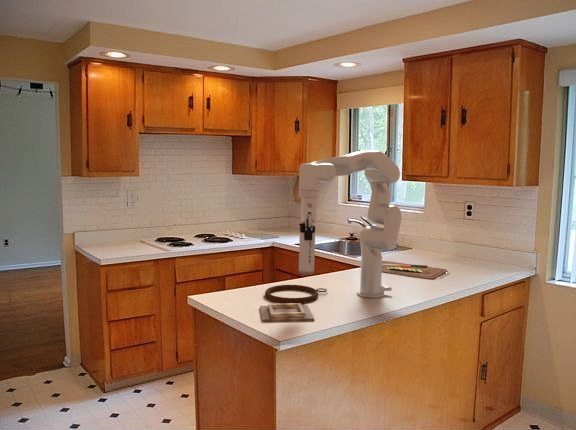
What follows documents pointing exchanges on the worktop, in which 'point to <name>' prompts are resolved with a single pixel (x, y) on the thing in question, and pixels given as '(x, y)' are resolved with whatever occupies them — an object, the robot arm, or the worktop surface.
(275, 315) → the walnut coaster board
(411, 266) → the chopping board
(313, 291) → the decorative ring
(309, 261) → the travel mug
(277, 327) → the worktop surface
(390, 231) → the robot arm
